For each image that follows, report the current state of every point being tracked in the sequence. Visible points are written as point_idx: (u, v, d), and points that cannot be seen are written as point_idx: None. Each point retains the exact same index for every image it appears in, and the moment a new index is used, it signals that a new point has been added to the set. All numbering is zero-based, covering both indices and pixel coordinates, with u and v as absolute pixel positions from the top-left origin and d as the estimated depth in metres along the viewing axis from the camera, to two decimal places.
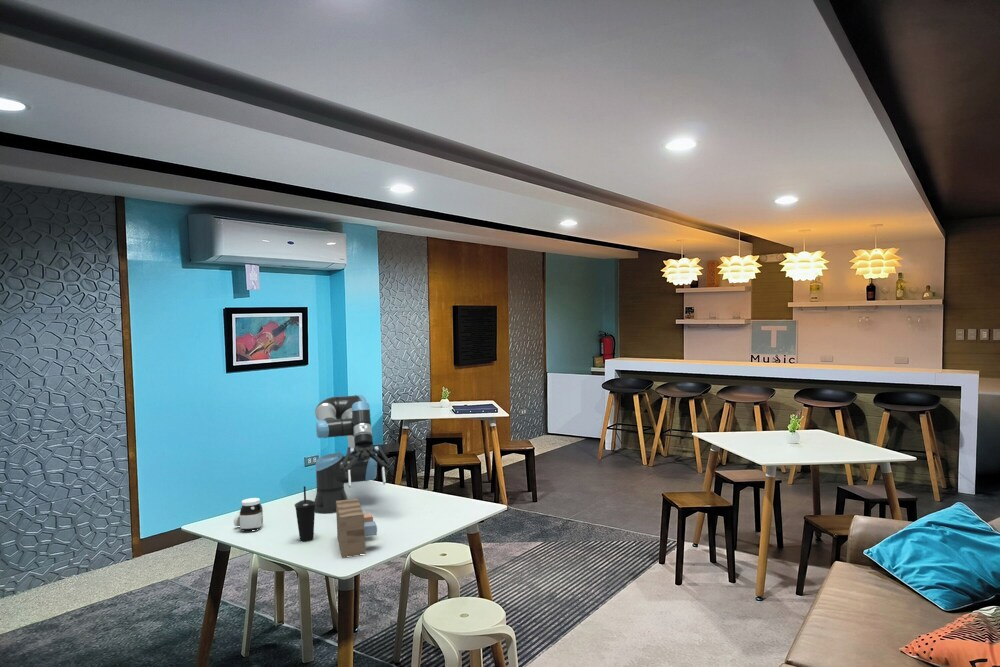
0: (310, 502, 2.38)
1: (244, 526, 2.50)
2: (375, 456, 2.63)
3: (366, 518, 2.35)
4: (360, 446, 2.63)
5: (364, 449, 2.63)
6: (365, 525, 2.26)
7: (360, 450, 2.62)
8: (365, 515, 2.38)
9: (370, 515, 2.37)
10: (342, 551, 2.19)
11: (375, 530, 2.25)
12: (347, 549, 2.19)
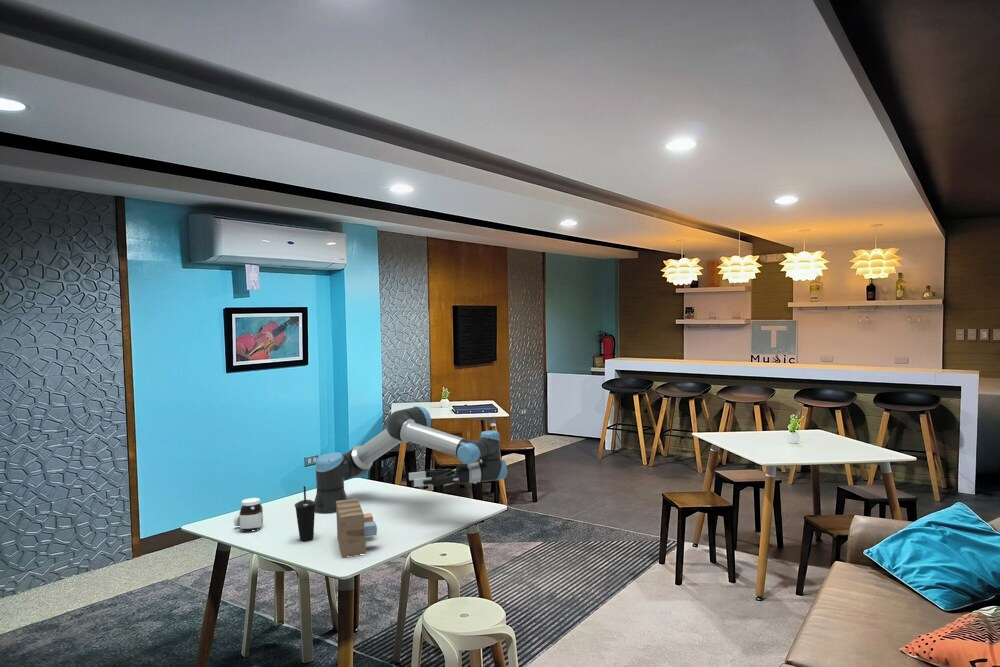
0: (310, 502, 2.38)
1: (244, 526, 2.50)
2: None
3: (366, 518, 2.35)
4: None
5: None
6: (365, 525, 2.26)
7: None
8: (365, 515, 2.38)
9: (370, 515, 2.37)
10: (342, 551, 2.19)
11: (375, 530, 2.25)
12: (347, 549, 2.19)
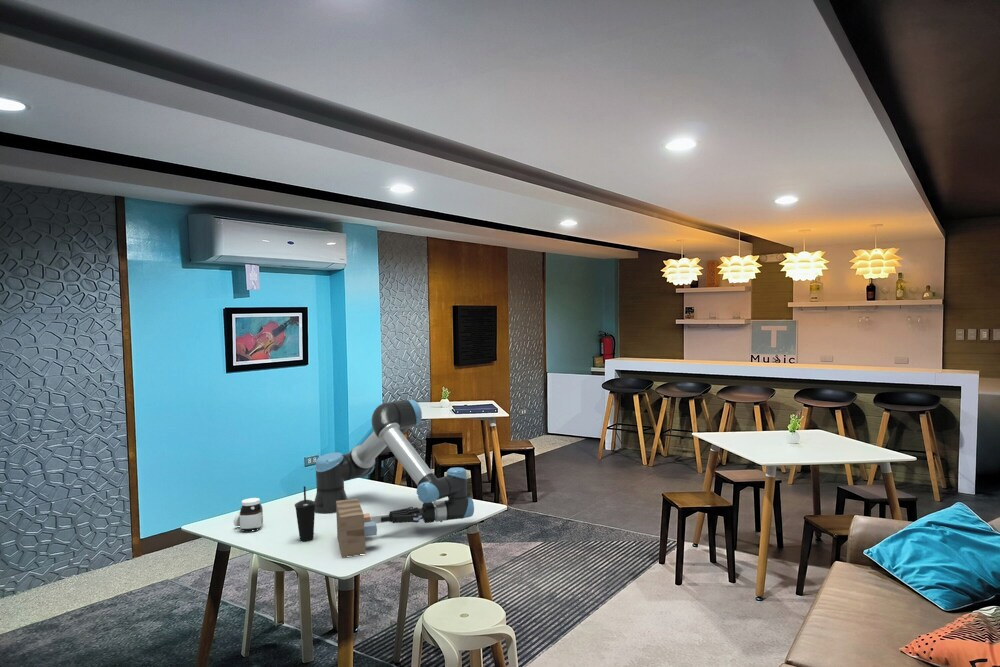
0: (310, 502, 2.38)
1: (244, 526, 2.50)
2: None
3: (364, 518, 2.35)
4: None
5: None
6: (365, 525, 2.26)
7: None
8: None
9: (368, 515, 2.37)
10: (342, 551, 2.19)
11: (375, 530, 2.25)
12: (347, 549, 2.19)
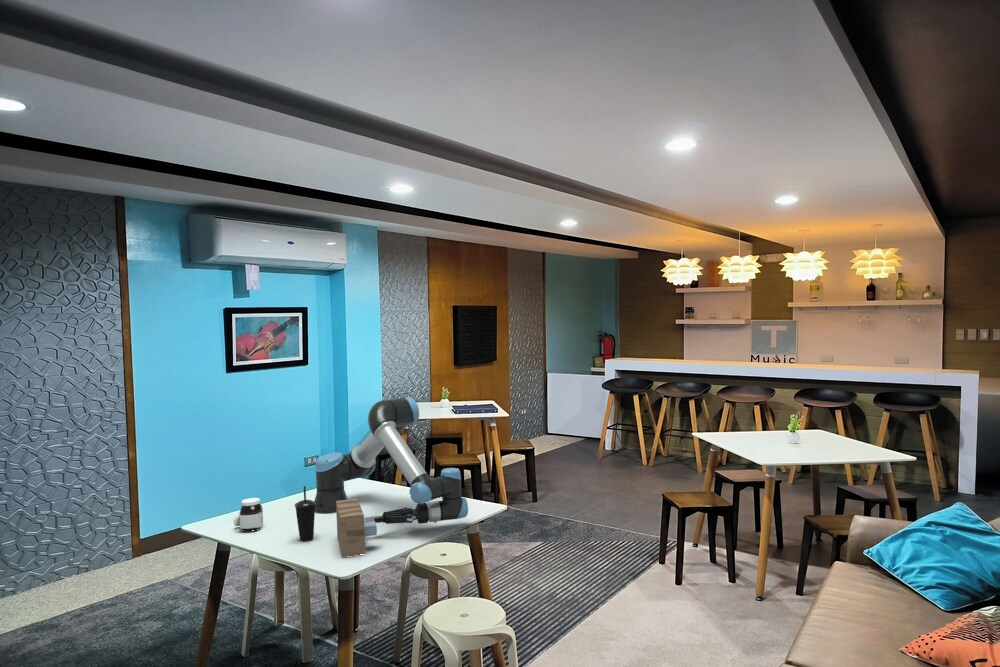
0: (310, 502, 2.38)
1: (244, 526, 2.50)
2: None
3: None
4: None
5: None
6: (365, 525, 2.26)
7: None
8: None
9: None
10: (342, 551, 2.19)
11: (375, 530, 2.25)
12: (347, 549, 2.19)
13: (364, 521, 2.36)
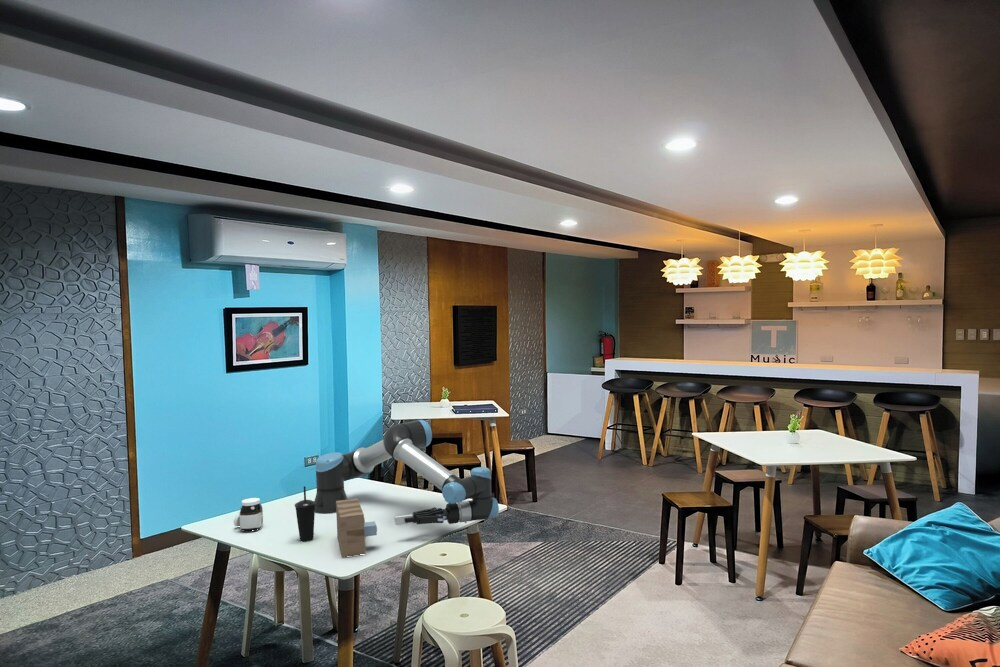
0: (310, 502, 2.38)
1: (244, 526, 2.50)
2: None
3: None
4: None
5: None
6: (365, 525, 2.26)
7: None
8: None
9: None
10: (342, 551, 2.19)
11: (375, 530, 2.25)
12: (347, 549, 2.19)
13: (364, 521, 2.36)
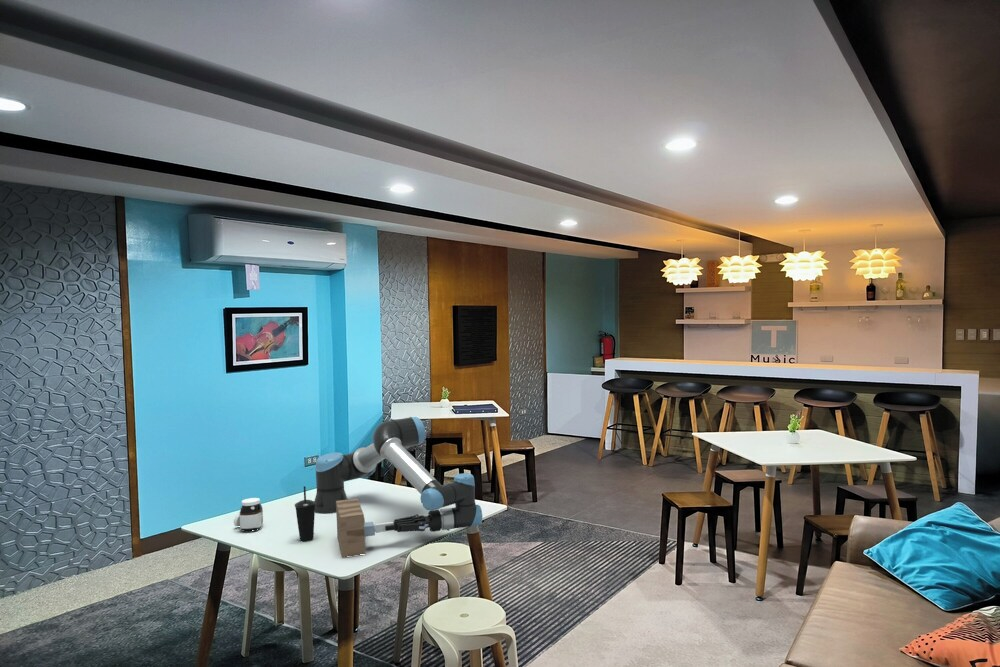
0: (310, 502, 2.38)
1: (244, 526, 2.50)
2: None
3: None
4: None
5: None
6: None
7: None
8: None
9: None
10: (342, 551, 2.19)
11: (373, 530, 2.25)
12: (347, 549, 2.19)
13: (364, 521, 2.36)
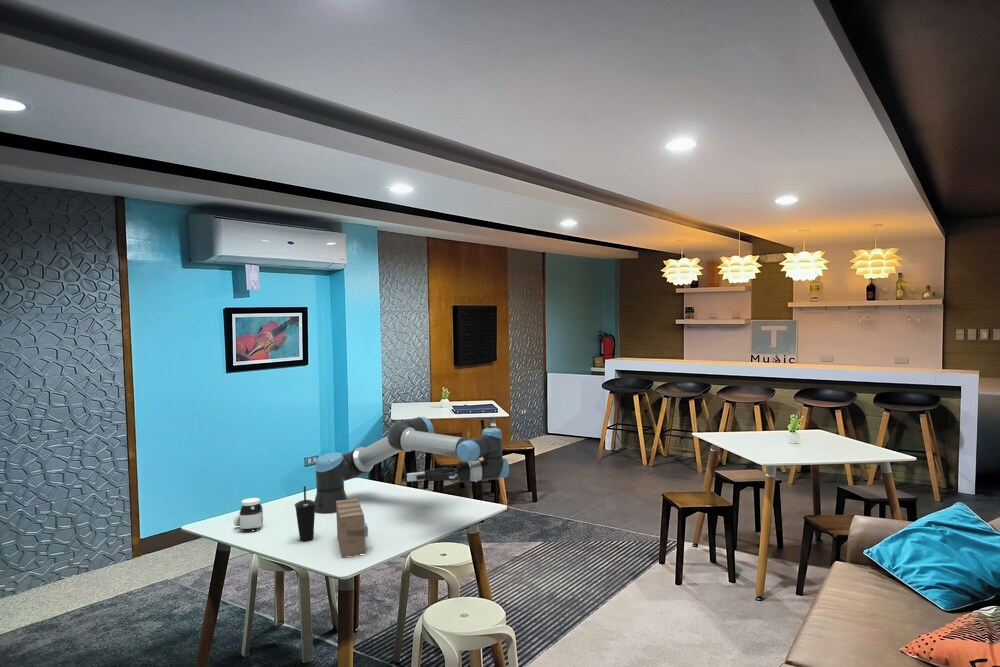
0: (310, 502, 2.38)
1: (244, 526, 2.50)
2: None
3: None
4: None
5: None
6: None
7: None
8: None
9: None
10: (342, 551, 2.19)
11: (366, 531, 2.24)
12: (347, 549, 2.19)
13: (364, 521, 2.36)
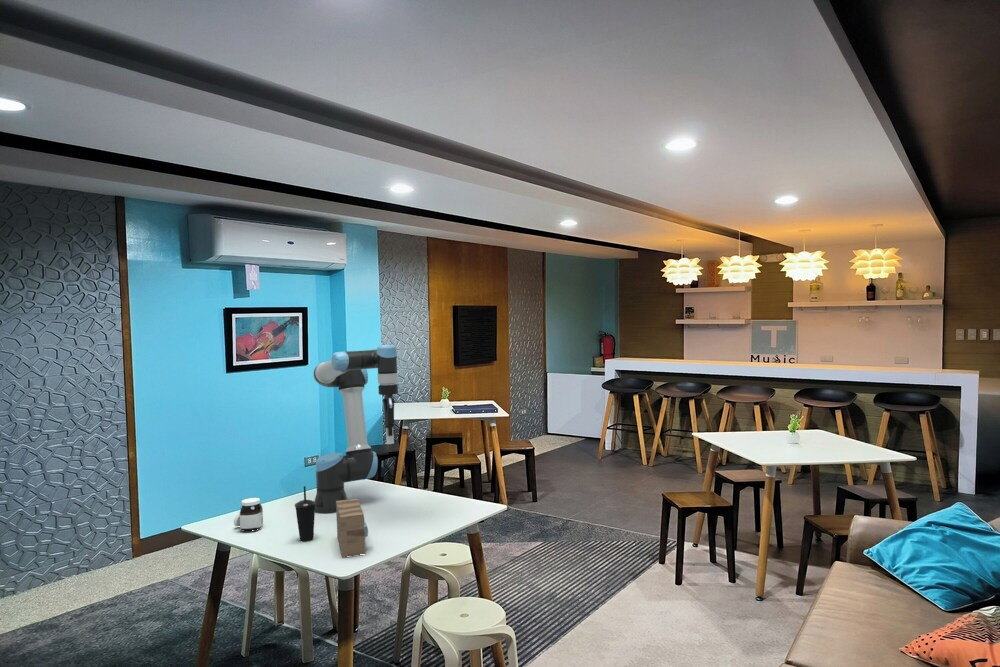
0: (310, 502, 2.38)
1: (244, 526, 2.50)
2: None
3: None
4: None
5: None
6: None
7: None
8: None
9: None
10: (342, 551, 2.19)
11: (366, 531, 2.24)
12: (347, 549, 2.19)
13: (364, 521, 2.36)
